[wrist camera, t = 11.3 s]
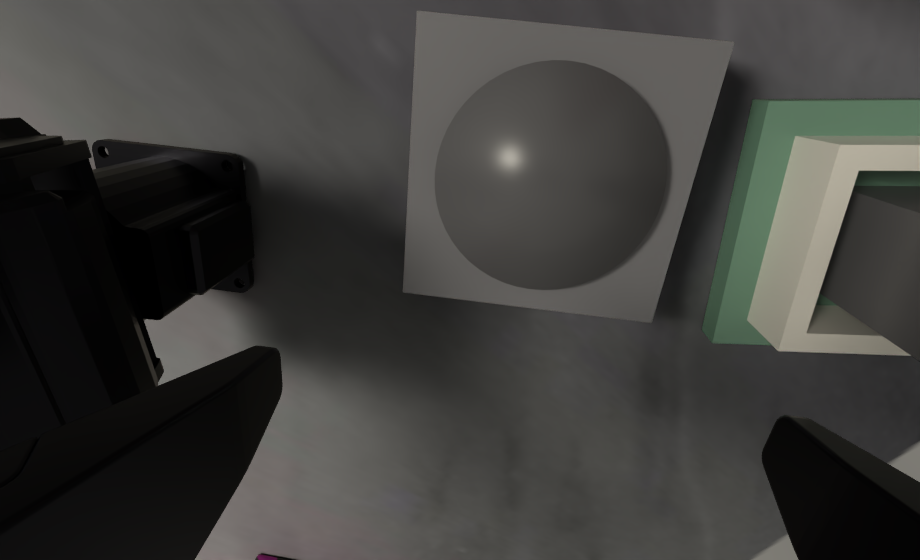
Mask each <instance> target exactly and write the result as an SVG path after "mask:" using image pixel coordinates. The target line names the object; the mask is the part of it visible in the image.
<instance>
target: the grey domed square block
mask: <svg viewBox="0 0 920 560" xmlns="http://www.w3.org/2000/svg"><path fill="white" fill-rule="evenodd" d="M734 43H735V42H729V41H719V40H709V39H699V38H689V37H679V36H669V35H659V34H648V33H638V32H628V31H618V30H608V29H598V28H588V27H577V26H567V25H557V24H547V23H537V22H527V21H517V20H507V19H496V18H486V17H476V16H466V15H456V14H446V13H436V12H425V11H417V19H416V38H415V58H414V78H413V98H412V118H411V138H410V157H409V177H408V197H407V217H406V237H405V256H404V276H403V292H404V293H412V294H420V295H428V296H436V297H444V298H452V299H460V300H468V301H477V302H485V303H493V304H501V305H509V306H517V307H525V308H533V309H541V310H549V311H557V312H566V313H574V314H582V315H590V316H598V317H606V318H614V319H622V320H630V321H638V322H646V323H652V320H653V317H654V313H655V310H656V306H657V303H658V300H659V296H660V293H661V290H662V286H663V283H664V279H665V276H666V273H667V269H668V266H669V263H670V259H671V256H672V252H673V249H674V246H675V242H676V239H677V235H678V232H679V229H680V225H681V222H682V219H683V215H684V212H685V208H686V205H687V202H688V198H689V195H690V192H691V188H692V185H693V181H694V178H695V175H696V171H697V168H698V164H699V161H700V158H701V154H702V151H703V148H704V144H705V141H706V137H707V134H708V131H709V127H710V124H711V121H712V117H713V114H714V110H715V107H716V104H717V100H718V97H719V94H720V90H721V87H722V83H723V80H724V77H725V73H726V70H727V66H728V63H729V60H730V56H731V53H732V50H733V46H734Z"/></svg>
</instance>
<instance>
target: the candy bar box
mask: <svg viewBox="0 0 920 560" xmlns="http://www.w3.org/2000/svg"><path fill="white" fill-rule="evenodd" d="M255 560H288V559H283V558H277V557H272V556H267V555H262V554H259V555H258V556H257V557H256V559H255Z"/></svg>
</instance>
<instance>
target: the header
mask: <svg viewBox="0 0 920 560" xmlns="http://www.w3.org/2000/svg"><path fill="white" fill-rule="evenodd" d="M854 186H920V98H909V99H754V100H752V105H751V109H750V114H749V118H748V123H747V127H746V132H745V136H744V141H743V145H742V150H741V155H740V159H739V164H738V168H737V173H736V177H735V182H734V186H733V191H732V195H731V200H730V204H729V209H728V213H727V218H726V222H725V227H724V231H723V236H722V240H721V245H720V249H719V254H718V258H717V263H716V267H715V272H714V277H713V281H712V286H711V290H710V295H709V299H708V304H707V308H706V313H705V317H704V322H703V326H702V331H703V332H704V333H705V335H706V336H707V337H708V339H709V340H710V341H711V342H712V343H720V344H749V345H772V346H773V347H774V348H775V349H776V350H777V351H789V352H817V353H845V354H873V355H901V356H911V355H909V354H908V353H906V352H905V351H904V350H902V349H901V348H899V347H898V346H896V345H895V344H893V343H892V342H890V341H889V340H887V339H886V338H885V337H883V336H882V335H880V334H879V333H877V332H876V331H874V330H873V329H871V328H870V327H868V326H867V325H865V324H864V323H863V322H861V321H860V320H858V319H857V318H855V317H854V316H852V315H851V314H849V313H848V312H846V311H845V310H844V309H842V308H841V307H839V306H838V305H836V304H835V303H833V302H832V301H830V300H829V299H827V298H826V297H824V296H823V295H822V294H820V289H821V286H822V283H823V280H824V277H825V274H826V271H827V268H828V265H829V262H830V258H831V255H832V252H833V249H834V246H835V243H836V240H837V237H838V234H839V231H840V227H841V224H842V221H843V218H844V215H845V212H846V209H847V206H848V203H849V200H850V197H851V193H852V190H853V187H854Z"/></svg>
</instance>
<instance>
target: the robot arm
mask: <svg viewBox="0 0 920 560" xmlns="http://www.w3.org/2000/svg"><path fill="white" fill-rule="evenodd" d="M105 147H106V148H107V149H108V151H109V155H108V154H106V152H105ZM92 152H93V156H94V161H95V166H96V169H93V170H92V168H91V165H90V162H89V159H88V158H91V157H92V156H91V153H90V150H89V147H88V144H87V141H86V140H65V141H63V138H62V136H46V134H40V133H39V132H38V131H37V130H35V129H34V128H33V127H31V126H30V125H29V124H28V123H26V122H25V121H24V120H22V119H21V118H0V560H195V558H196V557H197V555H198V553H199V552H200V550H201V548H202V546H203V545H204V543H205V541H206V540H207V538H208V536H209V535H210V533H211V531H212V530H213V528H214V526H215V524H216V523H217V521H218V519H219V518H220V516H221V514H222V513H223V511H224V509H225V508H226V506H227V504H228V502H229V501H230V499H231V497H232V496H233V494H234V492H235V491H236V489H237V487H238V486H239V484H240V482H241V480H242V479H243V477H244V475H245V473H246V471H247V469H248V467H249V465H250V463H251V461H252V459H253V457H254V455H255V452H256V450H257V448H258V446H259V444H260V441H261V439H262V437H263V435H264V433H265V430H266V428H267V426H268V424H269V421H270V419H271V417H272V415H273V413H274V410H275V408H276V406H277V404H278V402H279V399H280V397H281V393H282V371H281V357H280V353H279V351H278V350H277V349H276V348H272V347H264V346H253V347H251V348H248V349H246V350H244V351H241V352H239V353H236V354H234V355H231V356H229V357H227V358H224V359H222V360H219V361H217V362H215V363H212V364H210V365H207V366H205V367H202V368H200V369H198V370H195V371H193V372H190V373H188V374H186V375H183V376H181V377H178V378H176V379H174V380H171V381H169V382H166V383H164V384H161V385H159V386H158V382H159V380H160V378H161V376H162V374H163V372H164V369H163V366H162V363H161V360H160V358H156V355H155V352H154V349H153V346H152V343H151V341H150V338H149V335H148V332H147V329H146V326H145V323H144V320H146V319H153V320H161V319H162V318H164V317H165V316H166V315H168V314H169V313H171V312H172V311H174V310H175V309H176V308H178V307H179V306H181V305H182V304H183V303H185V302H186V301H188V300H189V299H191V298H192V297H193V296H195V295H203V294H204V293H206V292H207V291H209V290H210V289H215V290H223V291H231V292H239V293H243V292H246V291H248V290H249V289H250V288H251V287H252V286H253V283H254V279H253V268H252V258H253V257H254V245H253V233H252V222H251V210H250V206H249V204H248V203H247V201H246V190H245V179H244V168H243V163H242V161H241V159H240V158H239V157H238V156H237V155H236V154H233V153H227V152H218V151H210V150H201V149H192V148H183V147H174V146H165V145H156V144H148V143H139V142H130V141H121V140H112V139H104V140H97V141H96V142H94V143H93V146H92ZM227 160H228V161H230V162H231V163H232V165H233V170H230V169H229V168H228V167H227V165H226V163H227ZM238 278H240V279H242V280H243V281H244V283H245V285H243V284H241V283H240V282H239V280H238ZM762 463H763V467H764V469H765V472H766V475H767V478H768V480H769V483H770V486H771V489H772V491H773V494H774V497H775V499H776V502H777V505H778V508H779V510H780V513H781V516H782V519H783V521H784V524H785V527H786V530H787V532H788V535H789V538H790V540H791V543H792V545H793V548H794V550H795V552H796V555H797V557H798V559H799V560H920V482H918V481H916V480H915V479H913V478H911V477H910V476H908V475H906V474H904V473H903V472H901V471H899V470H897V469H896V468H894V467H892V466H891V465H889V464H887V463H885V462H884V461H882V460H880V459H878V458H877V457H875V456H873V455H871V454H870V453H868V452H866V451H864V450H863V449H861V448H859V447H858V446H856V445H854V444H852V443H851V442H849V441H847V440H845V439H844V438H842V437H840V436H838V435H837V434H835V433H833V432H832V431H830V430H828V429H826V428H825V427H823V426H821V425H819V424H818V423H816V422H814V421H812V420H810V419H808V418H804V417H796V416H789V415H784V416H781V417H779V418H778V419H777V421H776V422H775V425H774V427H773V429H772V431H771V433H770V435H769V438H768V440H767V442H766V444H765V446H764V448H763V452H762Z"/></svg>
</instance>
